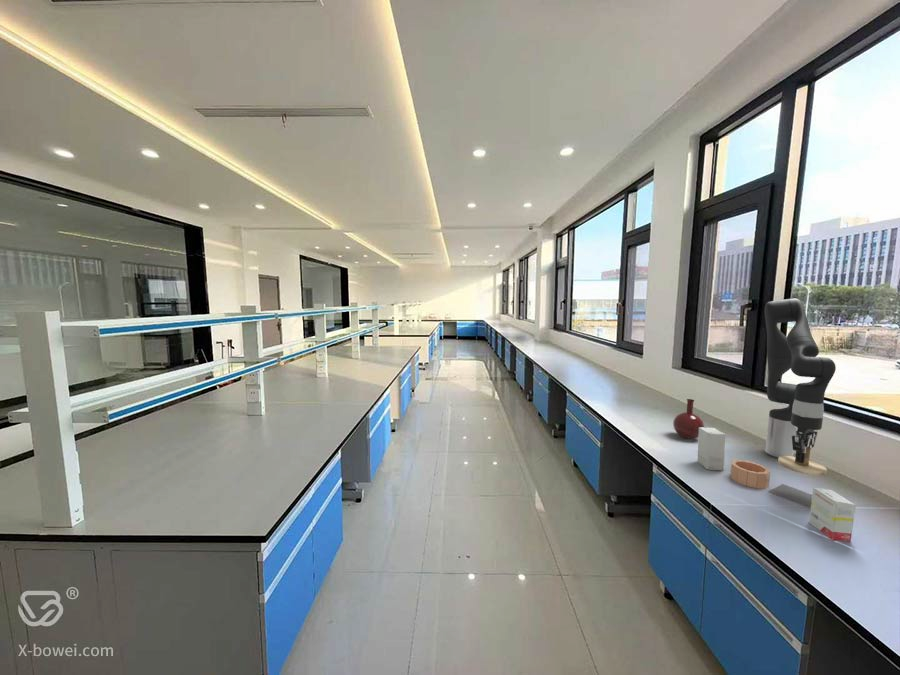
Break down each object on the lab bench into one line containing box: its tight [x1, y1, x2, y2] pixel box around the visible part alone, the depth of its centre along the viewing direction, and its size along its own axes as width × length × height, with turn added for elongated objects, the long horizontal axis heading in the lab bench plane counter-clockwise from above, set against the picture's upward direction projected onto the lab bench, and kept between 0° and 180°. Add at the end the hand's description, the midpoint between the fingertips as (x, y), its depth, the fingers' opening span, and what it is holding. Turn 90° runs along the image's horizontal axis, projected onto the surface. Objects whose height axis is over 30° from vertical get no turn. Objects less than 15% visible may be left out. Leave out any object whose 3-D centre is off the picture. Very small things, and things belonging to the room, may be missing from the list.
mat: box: [767, 483, 813, 509], centre depth 123 cm, size 12×12×1 cm
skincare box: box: [696, 427, 726, 472], centre depth 146 cm, size 8×7×16 cm
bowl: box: [729, 459, 771, 489], centre depth 134 cm, size 11×11×6 cm
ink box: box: [808, 487, 856, 542], centre depth 104 cm, size 9×5×12 cm, turn 168°
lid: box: [777, 447, 828, 476], centre depth 122 cm, size 12×12×7 cm
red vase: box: [672, 398, 706, 440], centre depth 176 cm, size 13×13×20 cm
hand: (801, 460), depth 122 cm, fingers closed on lid, 3 cm apart
